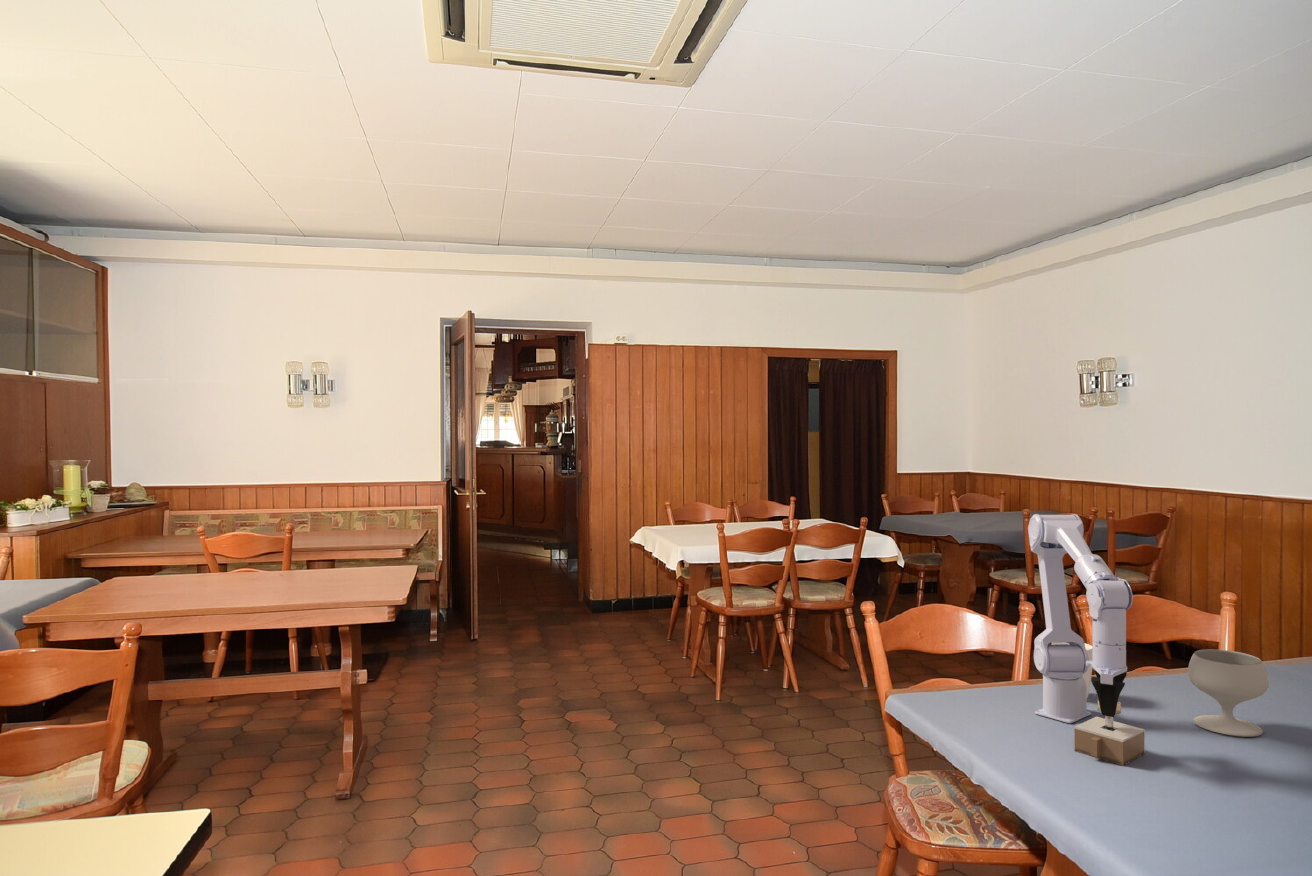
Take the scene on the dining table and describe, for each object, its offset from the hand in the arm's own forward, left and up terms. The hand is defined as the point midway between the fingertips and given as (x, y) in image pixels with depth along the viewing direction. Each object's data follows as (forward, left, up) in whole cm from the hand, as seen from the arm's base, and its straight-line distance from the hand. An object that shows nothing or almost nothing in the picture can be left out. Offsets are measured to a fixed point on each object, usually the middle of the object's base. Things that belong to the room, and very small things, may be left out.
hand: (1109, 711), depth 160 cm
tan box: (0, 0, -8) cm, 8 cm away
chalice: (-33, +9, -8) cm, 35 cm away
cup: (-28, -21, -8) cm, 36 cm away
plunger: (0, 0, -4) cm, 4 cm away
